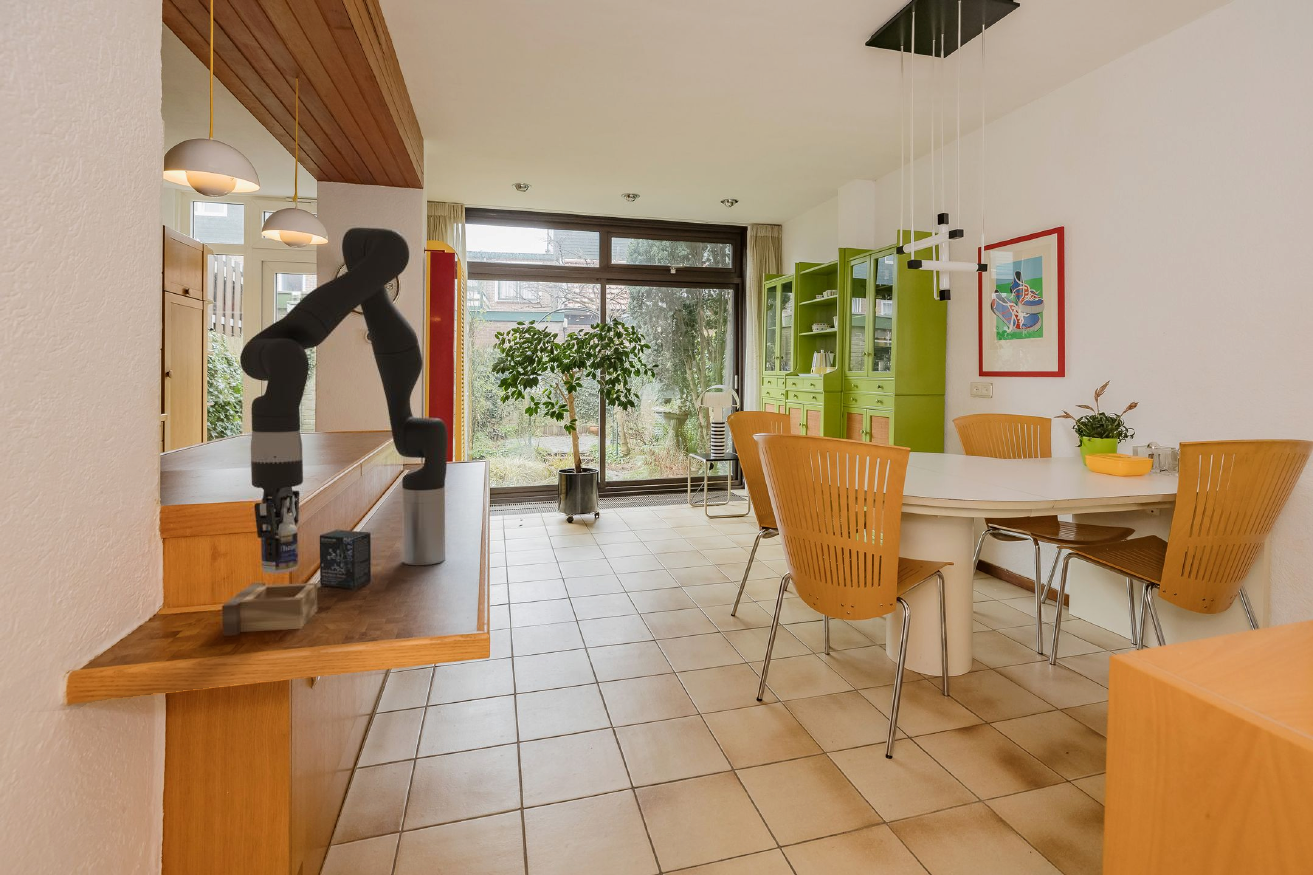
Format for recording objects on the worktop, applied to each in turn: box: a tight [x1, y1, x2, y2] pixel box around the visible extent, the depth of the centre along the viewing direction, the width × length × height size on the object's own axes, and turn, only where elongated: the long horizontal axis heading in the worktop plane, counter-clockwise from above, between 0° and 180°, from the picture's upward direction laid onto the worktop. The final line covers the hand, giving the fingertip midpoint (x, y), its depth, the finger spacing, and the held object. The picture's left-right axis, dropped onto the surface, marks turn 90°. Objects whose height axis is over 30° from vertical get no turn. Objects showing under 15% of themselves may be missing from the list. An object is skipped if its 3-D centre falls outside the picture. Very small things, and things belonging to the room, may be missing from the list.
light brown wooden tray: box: [240, 582, 318, 633], centre depth 111 cm, size 9×9×5 cm
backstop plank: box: [221, 582, 266, 637], centre depth 110 cm, size 12×2×5 cm, turn 12°
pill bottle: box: [260, 511, 299, 575], centre depth 110 cm, size 5×5×10 cm
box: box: [319, 529, 372, 590], centre depth 131 cm, size 8×6×11 cm
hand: (279, 555), depth 110 cm, fingers closed on pill bottle, 5 cm apart
